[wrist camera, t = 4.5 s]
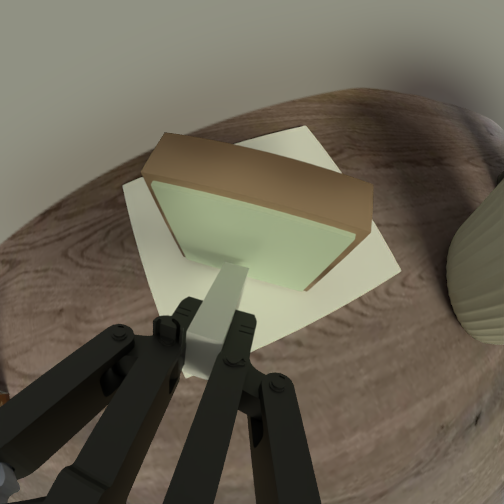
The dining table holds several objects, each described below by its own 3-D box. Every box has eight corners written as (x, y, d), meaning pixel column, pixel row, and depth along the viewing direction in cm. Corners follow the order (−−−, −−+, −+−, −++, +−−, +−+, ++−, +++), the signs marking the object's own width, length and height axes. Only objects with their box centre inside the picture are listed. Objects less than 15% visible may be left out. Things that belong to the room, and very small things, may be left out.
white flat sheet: (304, 129, 27) (305, 125, 27) (397, 273, 22) (401, 271, 22) (124, 188, 24) (122, 185, 23) (187, 377, 18) (185, 378, 18)
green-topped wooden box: (306, 294, 20) (370, 237, 10) (182, 259, 21) (138, 176, 11) (313, 262, 21) (373, 184, 11) (193, 229, 22) (164, 132, 12)
